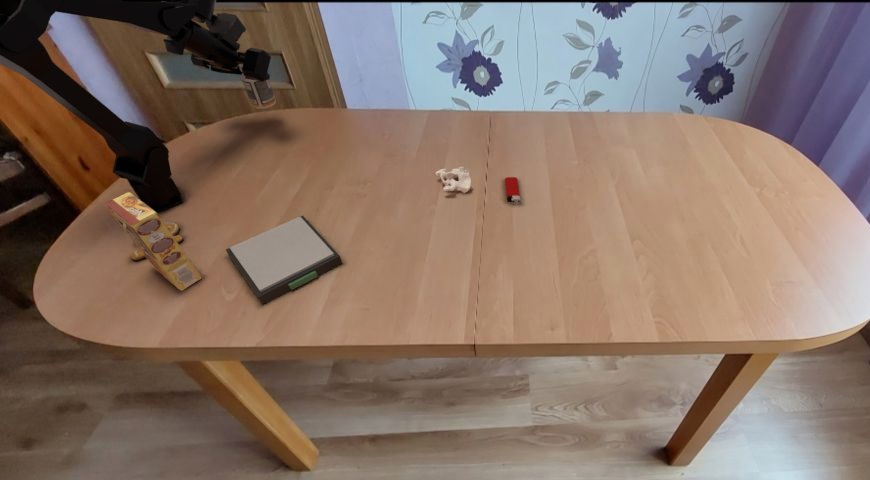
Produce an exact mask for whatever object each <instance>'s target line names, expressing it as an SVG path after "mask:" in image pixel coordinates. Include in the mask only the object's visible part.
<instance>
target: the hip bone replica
mask: <svg viewBox="0 0 870 480" xmlns="http://www.w3.org/2000/svg"><path fill="white" fill-rule="evenodd" d="M446 171H447V169H446V168H441V169H439V170H437V171H435V175H436V177H439V178H440V180H441V182H442V183H443V185H444V187H443V188H442V190H443V192H444V193H445V192H453V191H455V190H456V191H457V192H459V191H460V192H462V193H463V194H465V193H467V192H469V191H470V189H471V188H472V179H471V177H470V172H469V169H466V168H465V167H463V166H459V167H457V168H452V170H450V171H448V172H446ZM444 178H445V179H444ZM454 178H455V179H457V178H458V181H457V180H455V179H454Z"/></svg>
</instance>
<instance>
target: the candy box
mask: <svg viewBox="0 0 870 480" xmlns="http://www.w3.org/2000/svg"><path fill="white" fill-rule="evenodd" d="M104 207H106V209H107V211H109V213H110V214H111V215H112V217H113V218H114V219H115V221H117V223H118V224H119V226H121V228H122V229H123V231H124V232H125V233H126V234H127V235H128V237H129V239H131V241H132V242H133V243H134V244H135V246H136V247H137V248H138V250H139V249H140V250H141V252H142V253H143V254H144V255H145V256H146V257H145V258H146V259H147V261H148V262H149V263H150V264H151V265H152V266H153V268H154V269H155V270H156V271H157V272H158V273H159V274H160V275H161V276H162V277H163V278H165V279H166V280H167V281H168V282H169V283H170V284H172V285H173V286H174V287H175V288H176V289H178V290H179V291H181V292H182V291H184V290H185V289H187V288H188V287H191V286H192V285H193V284H195V283H196V282H198V281H200V280H201V279H202V276H201V274H200V273H199V271H198V270H197V269H196V267H195V266H194V264H193V263H192V261H191V259H190V258H189V257H188V256H187V254H186V253H185V251H184V250H183V248H182V247H181V245H180V243H177V241H176V240H175V238H174V237H173V235H172V234H171V232H170V231H169V230H168V228H167V227H166V225H165V224H164V223H165V222H164V221H163V220H162V218H161V217H160V215H159V213H158V212H155V211H154V210H153V209H152V208H150V207H149V206H147V205H146V204H145V203H144V202H142V201H141V200H140V199H139V197H138V196H136V195H134V194H133V193H132V192H130V191H127V192H125V193H123V194H121V195H119V196H117V197H115V198H113V199H111V200H108V201H107V202H104Z"/></svg>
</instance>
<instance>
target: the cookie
mask: <svg viewBox="0 0 870 480" xmlns="http://www.w3.org/2000/svg"><path fill="white" fill-rule="evenodd" d="M164 224H165V225H166V227H167V228H168V230H169V231H170V232H171V234H172V235H173V237H174V238H175V240H176V241H177V243H178V244H180V243H181V242H182V241H183V237H182V235H178V233H179V232H180V227H179V225H178V224H177V223H176V222H164ZM129 257H130V259H131V260H132V261H139V260H143V259H144V258H146V256H145V255H144V254H143V253H142V252H141V250H140V249H139V248H138V249H137V250H135V251H134V252H132V253H131V254H130V256H129Z"/></svg>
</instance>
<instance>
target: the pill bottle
mask: <svg viewBox="0 0 870 480" xmlns="http://www.w3.org/2000/svg"><path fill="white" fill-rule="evenodd" d="M242 67H243V65H242V64H239V68H240V71H242ZM240 79H241V81H242V83H243V87H244V89H245V92H246V93H247V97H248V99H249V102H250V104H251V106H252V107H253V108H254V109H259V110H264V109H270V108H272V107H273V106H275V105H276V103H277V100H276V97H275V94H274V91H273V89H272V85H271V83H270V79H269V80H265V81H263V82H261V81H256V80H251V79H246V78H245V76H244V74H243V73H242V75H240Z"/></svg>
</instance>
